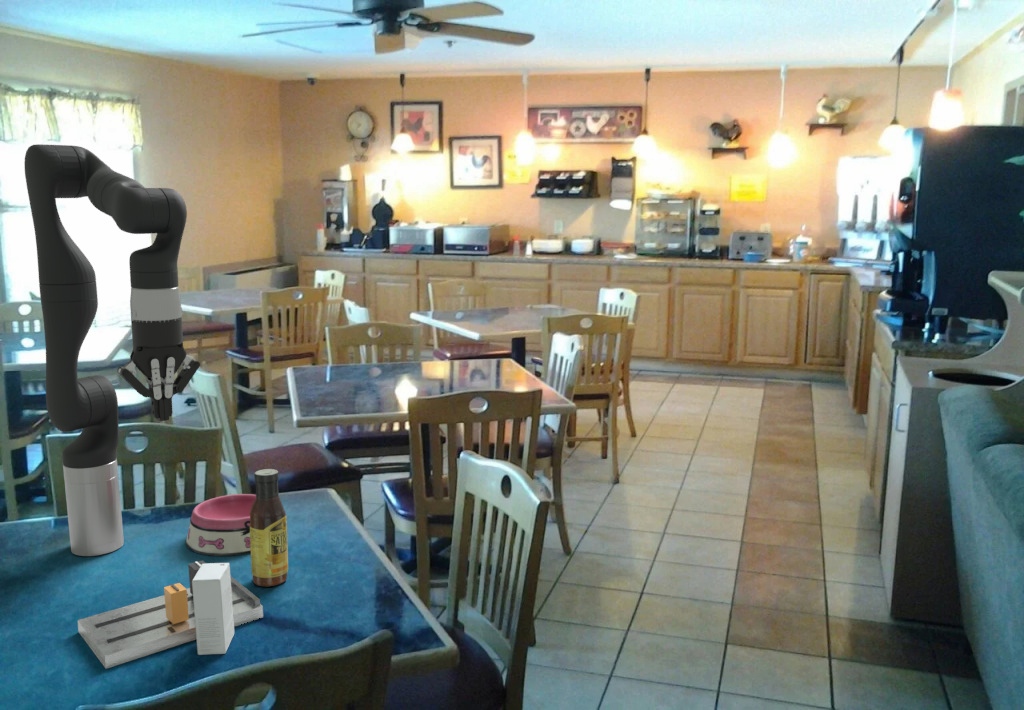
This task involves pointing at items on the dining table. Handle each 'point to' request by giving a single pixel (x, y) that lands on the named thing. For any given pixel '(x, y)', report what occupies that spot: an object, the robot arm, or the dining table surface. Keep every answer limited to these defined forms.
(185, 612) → the fader orange
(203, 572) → the skincare box
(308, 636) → the dining table surface
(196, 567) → the block
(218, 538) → the dog bowl
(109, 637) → the console
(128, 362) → the robot arm
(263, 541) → the sauce bottle
